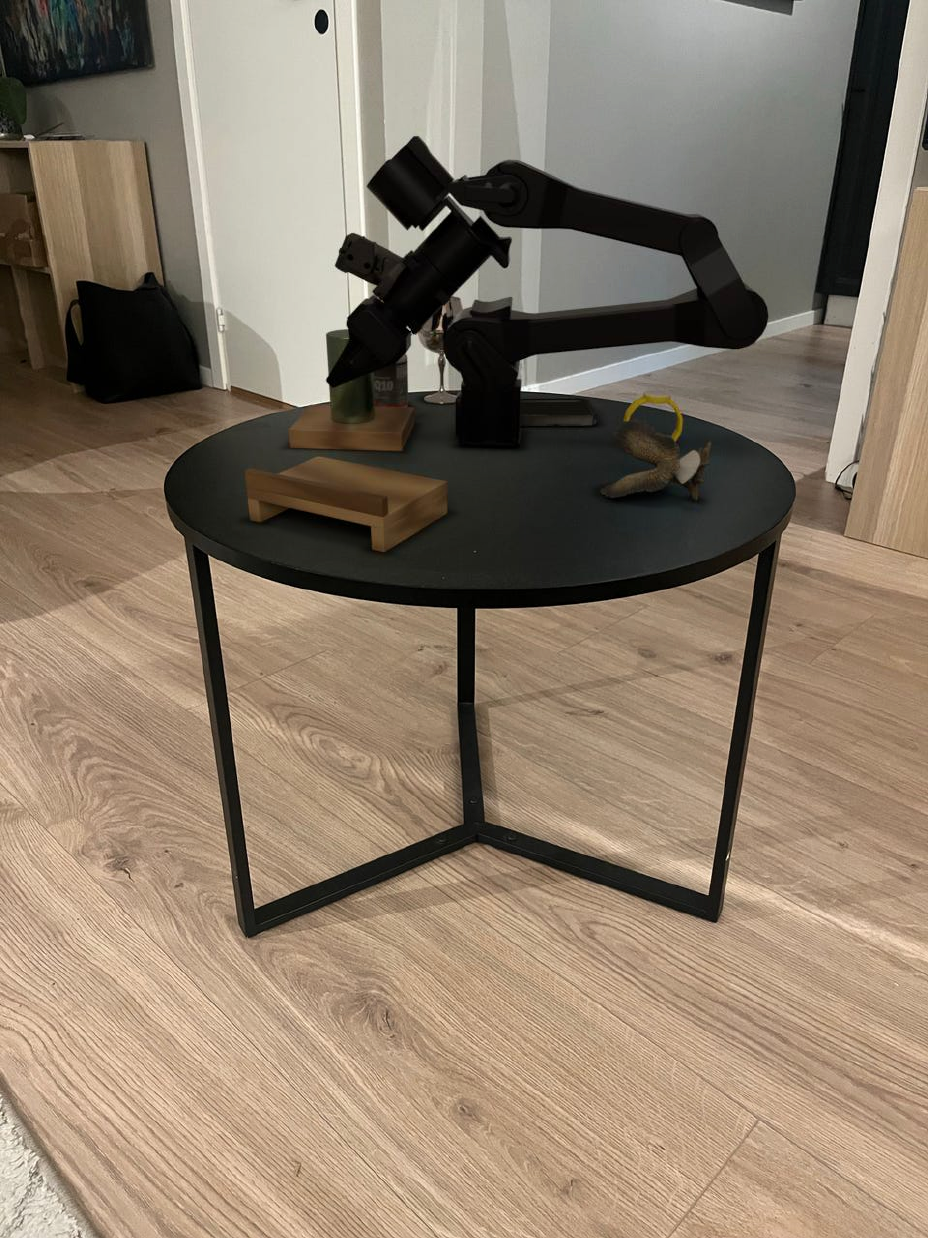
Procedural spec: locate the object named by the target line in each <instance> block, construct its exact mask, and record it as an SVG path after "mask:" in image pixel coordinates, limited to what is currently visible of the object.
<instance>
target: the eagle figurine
mask: <svg viewBox="0 0 928 1238" xmlns="http://www.w3.org/2000/svg"><path fill="white" fill-rule="evenodd" d="M614 431H615V432H614V433H613V434H612V438H613V439H614V440H613V441H614V443H615V444H616V445H617V448H618V449H619V450H620V451H622V452H625V453H626V454H628V455H630V456H631V457H633V458H635V459H637V460H638V461H641V462H645V463H648V464H650V465H652V466H654V467H655V468H652V469H648V470H644V471H638V472H634V473H630V474H627V475H624V476H623V477H622V478H620V479H619V480H618V481H616V482H613V483H611V484H607V485H606V487H602V488H601V490H599V492H600V493H601V495H603V496H605V497H606V498H607V497H609V498H610V499H614V498H621V497H626V496H627V495H632V494H635V493H640V492H645V491H646V492H650V493H653V492H657V491H660V490H664V488H666V487H667V484H668V483H675V484H677V485H679V486H682V487H683V488H686V489H687V490H688V491H689V492H690V494H691V498H692V499H693V500H694V501H695V502H697V501H698V500H699V489H700V485H701V484H704V483H705V480H704V478H703V475H704V472H705V469H706V466H708V465H710V464H711V461H708V459H709V455H710V451H711V447H712V441H708V442H707V443H706V446H705V447H704V448H703V447H700V448H699V450H698V451H697V450H696V449H693V450H691V451H689V452H688V453H687V454H685V455H683V456H681V457H680V453H681V450H680V449H681V448H680V446H679V445H678V443H677V441H676V442H675V441H674V439H672V437H671V435H669V434H668V435H667V434H664V433H661V432H659V430H658V429H656V428H654V427H652V426H651V425H649V423H648V422H647V421H646V420H642V419H639V420H638V419H632V420H631V419H630V420H628V421H624V422H623V421H622V423H620V424H619V425H618V427H616V428H615V430H614ZM690 479H691V482H690V481H689V480H690Z"/></svg>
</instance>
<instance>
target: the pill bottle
mask: <svg viewBox="0 0 928 1238" xmlns="http://www.w3.org/2000/svg"><path fill="white" fill-rule="evenodd" d="M408 369H409V368H408V354H407V352H406V353H405V354H404V355H403V356H402V357H401V358H400V359H399V361H398V362H397V363H396V364H395V365H391V366H390V367H385V368H383V369H380V370H377V371H375V372H374V395H375V406H377V407H409V378H408V376H409V372H408V371H409V370H408Z"/></svg>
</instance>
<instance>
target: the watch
mask: <svg viewBox="0 0 928 1238" xmlns="http://www.w3.org/2000/svg"><path fill="white" fill-rule="evenodd" d="M671 396H672V395H671V394H670V393H669V392H667V391H662V390H646V391H643V395H642V396H641V397H639V398H636V399H635V400H634V401H632V403H631V404H630V406H628V408H627V409H626V411H625V413H624V417H623V421H622V423H623V422H624V421H628V420H630V421H631V416H632V415H633V414H634V412H635V411H636V410H638V408H639V407H640V406H642V405H645V404H646V403H651V404H658V405H660V404H661V405H662V404H668V405H669V406H671V408H672V409H673V410H674V413H675V415H676V425H675V429H674V431H673V432H672V433H671V435H670V436H671V437H672V439H674V441H675V442H676V443H677V440H678V439H679V437H680V436H681V434H682V432H683V423H684V419H683V415H682V413H681V410H680V407H679V406H678V405H677V404H676V402H675V401H674V400H672V399H671Z"/></svg>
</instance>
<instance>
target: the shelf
mask: <svg viewBox="0 0 928 1238" xmlns="http://www.w3.org/2000/svg"><path fill="white" fill-rule="evenodd" d="M244 478H245V486H246V495H247V504H248V506H247V507H248V514H249V520H250V521H251V522H256V523H262V522H265V521H266V520H269V519H271V518H273V517H275V516H277V515H279V514H281V513H283V512H285V511H287V510H290V509H293V510H298V511H303V512H307V513H310V514H315V515H319V516H323V517H329V518H333V519H337V520H341V521H346V522H349V523H350V522H351V523H355V524H359V525H363V526H369V527H370V532H371V549H372V550H373V551H377V552H381V553H385V552H387V551H389V550H391V549H392V548H394V547H395V546H397V545H399V544H400V543H402V542H404V541H405V540H407V539H409V538H410V537H411V536H413V535H415V534H416V533H418V532H419V531H421V530H423V529H425V528H426V527H428V526H430V525H431V524H433V523H434V522H436V521H437V520H439V519H441V518H442V517H444V516H446V515H448V481H447V480H442V479H438V478H432V477H427V476H420V475H417V474H411V473H407V472H401V471H396V470H390V469H386V468H382V467H375V466H370V465H367V464H366V465H365V464H360V463H355V462H351V461H344V460H340V459H334V458H329V457H324V456H319V455H318V456H315V457H313V458H310V459H309V460H306V461H304V462H302V463H299V464H297V465H295V466H292V467H290V468H288V469H286V470H283V471H281V472H278V473H276V472H271V471H267V470H262V469H258V468H257V469H256V468H252V467H249V468H247V469H245V470H244Z"/></svg>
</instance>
